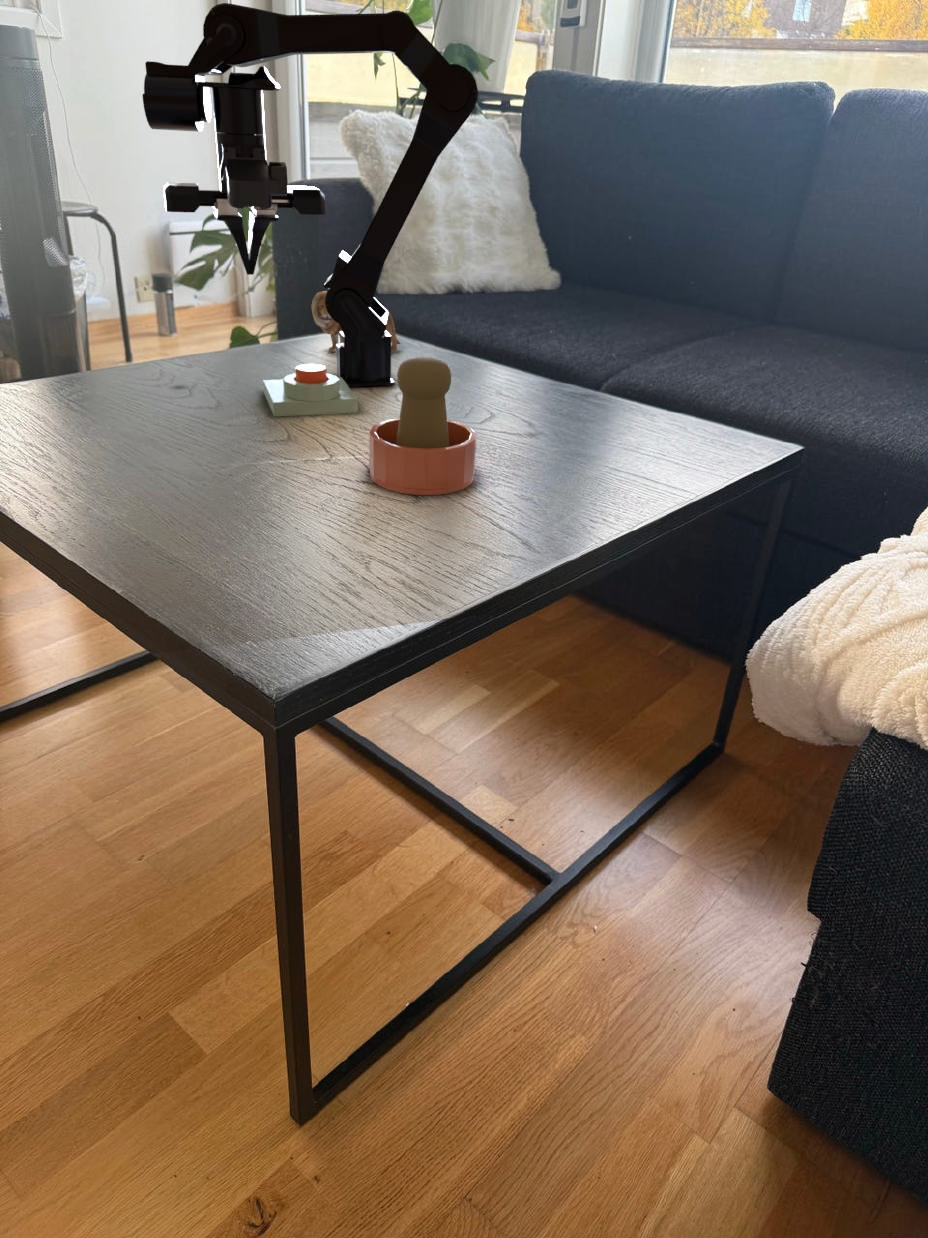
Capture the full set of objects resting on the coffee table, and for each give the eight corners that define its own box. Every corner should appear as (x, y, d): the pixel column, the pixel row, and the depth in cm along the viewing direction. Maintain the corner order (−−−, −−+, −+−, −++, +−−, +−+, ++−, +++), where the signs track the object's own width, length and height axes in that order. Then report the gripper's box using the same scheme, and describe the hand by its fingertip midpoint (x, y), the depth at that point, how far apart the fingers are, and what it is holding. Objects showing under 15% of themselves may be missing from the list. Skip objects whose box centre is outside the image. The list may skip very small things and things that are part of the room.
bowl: (456, 455, 95) (457, 414, 93) (487, 491, 87) (490, 446, 84) (360, 461, 92) (360, 419, 90) (383, 498, 84) (383, 453, 81)
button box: (342, 390, 115) (341, 362, 113) (358, 413, 107) (358, 384, 105) (264, 393, 112) (262, 365, 111) (274, 417, 104) (272, 387, 102)
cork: (421, 485, 86) (423, 370, 80) (379, 467, 89) (379, 357, 84) (464, 471, 89) (469, 360, 84) (422, 455, 93) (425, 348, 88)
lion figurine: (322, 360, 128) (320, 295, 124) (306, 352, 132) (303, 288, 127) (408, 350, 136) (409, 288, 131) (390, 343, 139) (390, 282, 135)
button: (323, 377, 108) (323, 363, 108) (329, 385, 105) (328, 370, 105) (294, 378, 107) (293, 364, 107) (298, 386, 104) (298, 371, 104)
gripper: (159, 132, 95) (175, 285, 103) (331, 140, 101) (334, 284, 108) (156, 129, 104) (172, 270, 112) (314, 136, 110) (319, 270, 118)
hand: (250, 274), depth 112 cm, fingers closed
